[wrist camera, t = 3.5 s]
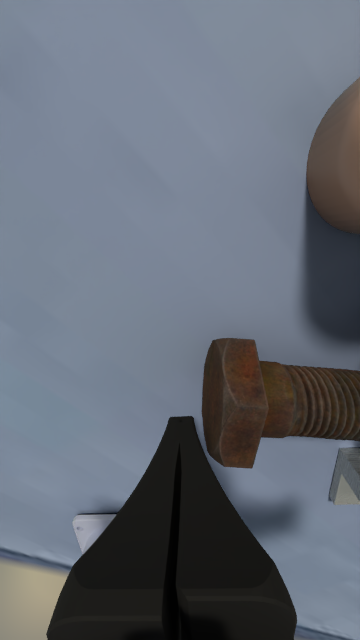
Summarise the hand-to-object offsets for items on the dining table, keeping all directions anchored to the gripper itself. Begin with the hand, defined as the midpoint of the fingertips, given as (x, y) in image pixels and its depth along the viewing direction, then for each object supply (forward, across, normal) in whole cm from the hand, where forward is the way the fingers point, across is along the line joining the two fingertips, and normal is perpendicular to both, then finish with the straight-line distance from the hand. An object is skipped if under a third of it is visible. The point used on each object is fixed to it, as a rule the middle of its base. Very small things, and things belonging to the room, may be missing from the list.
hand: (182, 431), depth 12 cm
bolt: (+3, -9, -1) cm, 9 cm away
